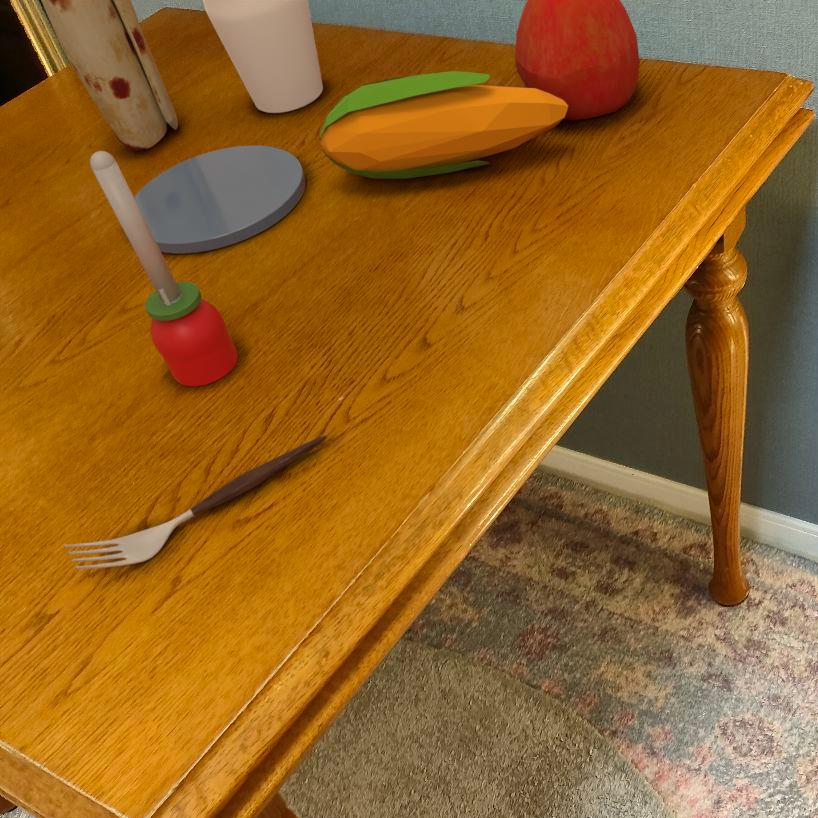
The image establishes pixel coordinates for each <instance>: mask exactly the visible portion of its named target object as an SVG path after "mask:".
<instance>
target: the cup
mask: <svg viewBox="0 0 818 818" xmlns="http://www.w3.org/2000/svg"><path fill="white" fill-rule="evenodd" d="M202 2H203V7H204V10H205V13H206V15H207V17H208V19H209V21H210V23H211V24H212V27H213V28H214V30H215V32H216V34H217V36H218V38H219V39H220V42H221V44H222V45H223V47H224V49H225V51H226V53H227V55H228V57H229V58H230V61H231V63H232V64H233V66H234V68H235V70H236V72H237V74H238V76H239V77H240V79H241V82H242V83H243V85H244V87H245V89H246V91H247V93H248V94H249V97H250V98H251V100H252V102H253V103H254V105H255V107H256V109H257V110H259V111H262V112H264V113H268V114H269V113H270V114H284V113H289V112H293V111H296V110H300V109H302V108H304V107H306V106H308V105H310V104H312V103H313V102H314V101H316V100H317V99H318V98H319V97H320V96H321V94H322V92H323V90H324V87H323V86H324V85H323V80H322V74H321V68H320V62H319V55H318V50H317V45H316V40H315V34H314V28H313V22H312V21H313V20H312V16H311V11H310V5H309V0H202Z"/></svg>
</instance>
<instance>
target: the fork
mask: <svg viewBox="0 0 818 818" xmlns="http://www.w3.org/2000/svg"><path fill="white" fill-rule="evenodd" d="M327 438H328V436H327V435H323V436H319V437H317V438H315V439H312V440H310V441H307V442H305V443H303V444H301V445H299V446H297V447H295V448H293V449H291V450H289V451H287V452H285V453H283V454H281V455H279V456H276V457H275V458H272V459H271V460H269V461H266V462H264V463H262V464H260V465H257V466H256V467H254V468H252V469H250V470H248V471H246V472H244V473H242V474H241V475H238V476H237V477H235V478H234V479H232V480H230V481H229V482H227V483H226V484H225V485H222V486H221V487H219V489H217V490H215V491H214V492H212V493H211V494H210V495H208V496H207V497H205V498H204V499H202V500H201V501H200V502H198V503H197V504H195V505H193V507H191V508H190V509H188V510H186V511H185V512H183V513H182V514H180V515H178V516H176V517H175V518H173V519H170V520H169V521H167V522H164V523H161V524H158V525H156V526H152V527H149V528H146V529H143V530H141V531H137V532H134V533H131V534H128V535H124V536H120V537H116V538H111V539H107V540H101V541H91V542H83V543H73V544H65V545H64V548H66V549H67V548H70V549H71V548H89V547H101V546H102V547H103V546H110V547H103V548H96V549H87V550H77V551H76V550H75V551H69V552H68V555H70V556H72V555H73V556H75V555H91V554H92V555H93V554H103V553H112V554H106V555H101V556H100V555H99V556H92V557H81V558H72V560H71V562H72V563H80V562H82V563H83V562H97V561H108V560H117V559H122V560H117V561H112V562H106V563H97V564H89V565H77V566H75V569H76V570H91V569H92V570H93V569H103V568H112V567H123V566H127V565H128V566H129V565H134V564H139V563H143V562H146V561H148V560H150V559H152V558H154V556H156V555H157V554H158V553H159V552H160V551H161V549H162V548H163V547H164V546H165V544H166V542H167V541H168V539H169V537H170V536H171V534H172V533H173V532H174V530H175V529H176V527H178V526H179V525H180V524H181V523H183V522H185V521H187V520H189V519H191V518H193V517H195V516H197V515H200V514H202V513H204V512H206V511H208V510H211V509H214V508H215V507H217V506H219V505H222V504H224V503H226V502H228V501H230V500H232V499H235V498H236V497H239V496H241V495H243V494H245V493H247V492H248V491H250V490H252V489H254V488H255V487H257V486H258V485H260V484H261V483H263V482H264V481H266V480H268V479H269V478H270V477H272V476H273V475H275V474H276V473H277V472H279V471H281V470H282V469H283V468H286V467H287V466H288V465H290V464H291V463H293V462H294V461H296V460H298V459H300V458H301V457H303V456H304V455H305V454H307V453H309V452H310V451H312V450H313V449H315V448H317V446H320V444H322V443H324V441H325V440H326V439H327ZM112 545H115V546H112ZM113 552H118V553H114V554H113Z"/></svg>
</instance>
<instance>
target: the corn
mask: <svg viewBox="0 0 818 818" xmlns="http://www.w3.org/2000/svg"><path fill="white" fill-rule="evenodd" d="M490 76H491V74H488V73H483V72H482V73H481V72H474V71H473V72H471V71H460V70H459V71H457V70H449V71H442V72H433V73H423V74H417V75H416V74H415V75H411V76H404V77H403V76H399V77H393V78H389V79H383V80H378V81H374V82H369V83H363V84H362V85H361V86H358V87H357V88H356V89H353V90H351V91H350V92H347V94H346V95H344V97H342V98H341V99H340V100H339V101H338V102H337V103H336V104H335V105H333V107H332V108H331V110H330V111H329V113H328V114H327V116H326V118H325V120H324V124H323V126H322V128H321V132H320V134H319V140H320V145H321V148H322V151H323V152H322V153H324V154H325V156H326V158H328V159H329V160H330V161H331V162H332V164H334V165H335V166H337V167H338V168H339V169H341V170H344V171H346V172H348V173H349V174H353V175H357V176H361V177H365V178H370V179H389V180H391V179H393V180H394V179H397V180H402V179H406V180H407V179H414V178H421V177H427V176H435V175H442V174H449V173H453V172H458V171H462V170H467V169H472V168H478V167H482V166H486V165H490V162H488V161H484V160H479V159H481V158H485V157H488V156H493V155H495V154H499V153H503V152H505V151H509V150H513V149H516V148H517V147H519V146H521V145H523V144H525V143H527V142H529V141H530V140H532V139H534V138H536V137H538V136H540V135H542V134H544V133H546V132H548V131H549V130H551V129H553V128H555V127H557V125H558V124H560V122H562V121H563V120H564V119H563V118H564V117H565V115H566V112H567V109H568V105H567V104H566V103H565V101H564V100H562V99H560V98H558V97H556V96H554V95H552V94H550V93H547V92H544V91H541V90H539V89H536V88H527V87H521V86H518V87H517V86H516V87H515V86H500V85H484V83H486V82H487V81H488V80H489V79H490ZM479 84H480V85H479ZM481 84H483V85H481Z"/></svg>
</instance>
